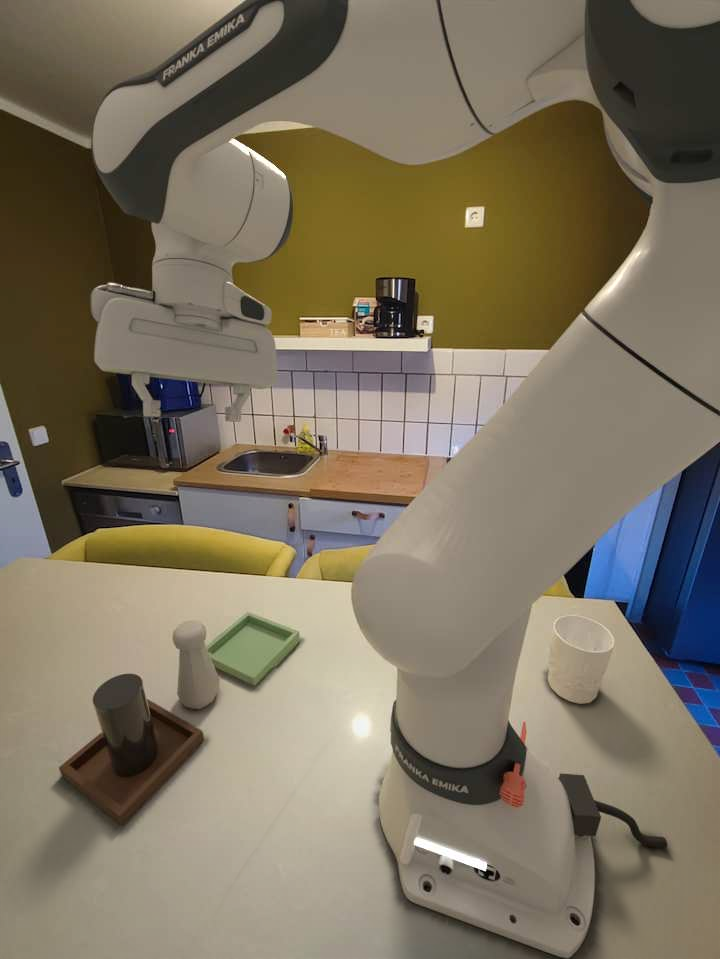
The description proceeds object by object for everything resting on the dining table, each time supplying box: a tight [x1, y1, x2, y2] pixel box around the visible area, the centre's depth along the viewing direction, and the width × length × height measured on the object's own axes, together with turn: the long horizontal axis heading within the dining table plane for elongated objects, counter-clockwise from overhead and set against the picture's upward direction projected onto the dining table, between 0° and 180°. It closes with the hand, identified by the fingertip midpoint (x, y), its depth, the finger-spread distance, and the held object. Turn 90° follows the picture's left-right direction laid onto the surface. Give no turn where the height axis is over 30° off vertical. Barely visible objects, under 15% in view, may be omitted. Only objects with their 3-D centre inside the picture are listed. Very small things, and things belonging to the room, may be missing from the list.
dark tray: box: [58, 698, 205, 826], centre depth 54 cm, size 12×12×2 cm
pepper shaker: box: [92, 673, 158, 777], centre depth 52 cm, size 5×5×11 cm
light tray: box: [206, 611, 301, 687], centre depth 72 cm, size 12×12×2 cm
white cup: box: [547, 614, 616, 705], centre depth 63 cm, size 8×8×10 cm
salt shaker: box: [172, 619, 220, 710], centre depth 61 cm, size 6×6×13 cm
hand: (194, 419), depth 51 cm, fingers open, 8 cm apart
